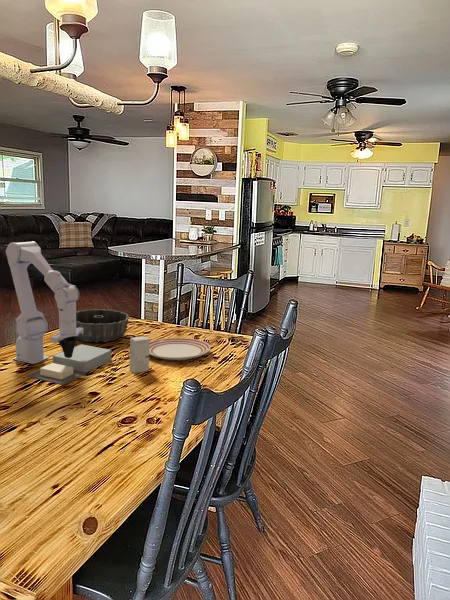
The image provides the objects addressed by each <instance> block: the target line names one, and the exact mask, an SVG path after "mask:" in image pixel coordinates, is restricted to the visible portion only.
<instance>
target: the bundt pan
mask: <svg viewBox="0 0 450 600" xmlns="http://www.w3.org/2000/svg"><path fill="white" fill-rule="evenodd" d="M129 319H130V316H129V315H128V314H127V313H125V312H122V311H118V310H114V309H102V308H100V309H85V310H78V311H76V328H79V327H80V328H83V333H82V334H78V336H75V337H78V341H81V342H87V343H92V342H94V343H96V344H99V342H101V343H107V342H114V341H116V340H118V339H121V338H122V337H123V336H124V335H125V334H126V332H127V328H128V323H129Z"/></svg>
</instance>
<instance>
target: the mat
mask: <svg viewBox="0 0 450 600" xmlns="http://www.w3.org/2000/svg"><path fill="white" fill-rule="evenodd" d="M87 374H88V372H81V371H76V370H73V374H72V375H70V376H68V377H66V378H64V379H57V378H53V377H48V376H44V375H40V369H37V370H35V371H33V372H31V373H29V374H26V375H25V377H27V378H30V379H35V380H40V381H43V382H44V381H45V382H47V383H52V384H53V383H54V384H57V385H62V386H65V385H66V384H68V383H71V382H73V381H74V380H77V379H78V378H82V377H83V376H85V375H87Z"/></svg>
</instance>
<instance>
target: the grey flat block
mask: <svg viewBox="0 0 450 600" xmlns="http://www.w3.org/2000/svg"><path fill="white" fill-rule="evenodd" d="M110 361H112V349H108V348H102V347H96V346H92V345H86V344H82V343H81V344H79V345H77V346H76V345H75V347H74V350H73V354H72V357H71V358H66V357H65V356H64V352H63V351H62V352H58V353H56V354H54V355H52V363H55V364H60V365H65V366H69V367H73V370H76V371H81V372H86V373H88V372H90V371H91V370H93V369H96V368H98V367H101V366H102V365H104V364H106V363H108V362H110Z"/></svg>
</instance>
